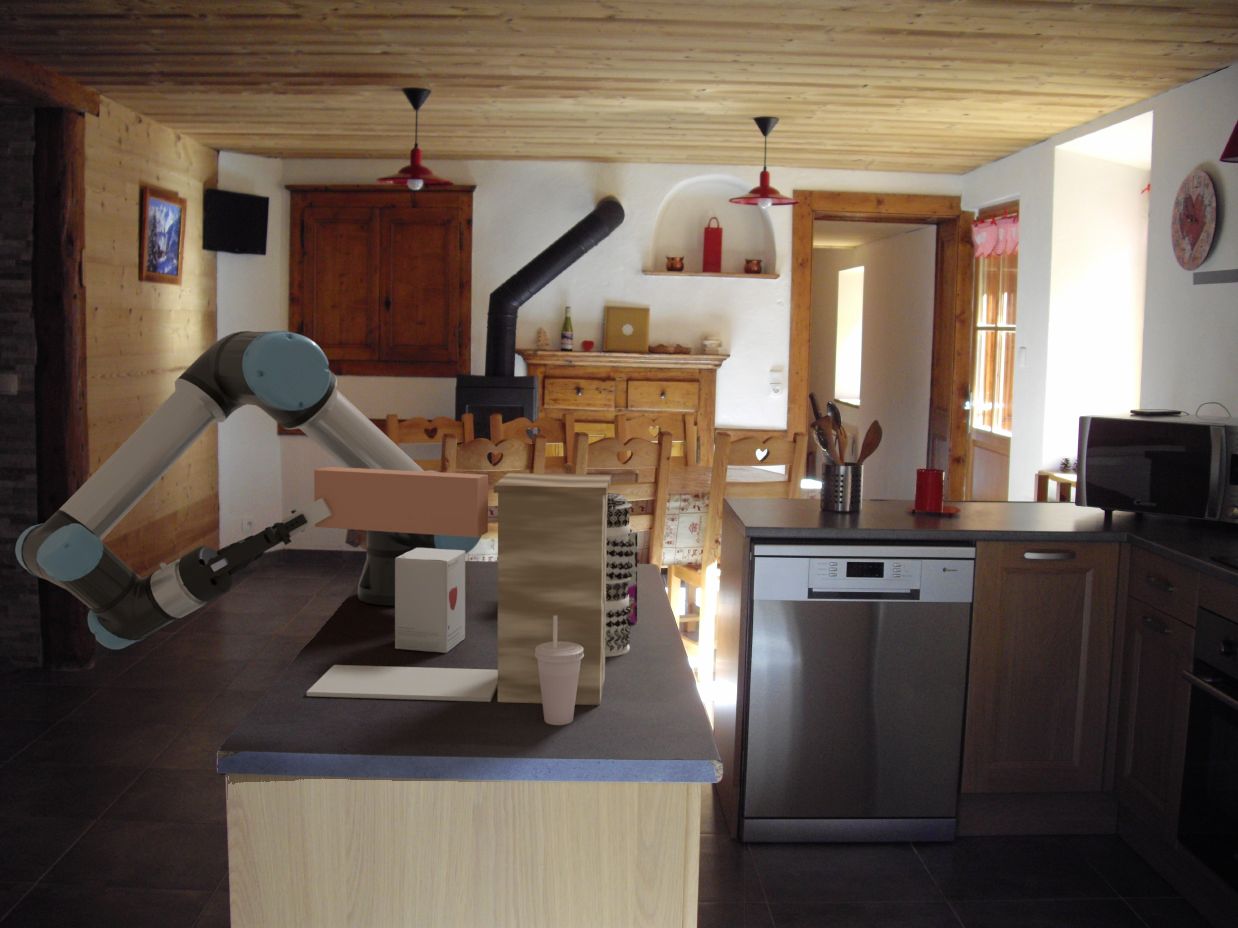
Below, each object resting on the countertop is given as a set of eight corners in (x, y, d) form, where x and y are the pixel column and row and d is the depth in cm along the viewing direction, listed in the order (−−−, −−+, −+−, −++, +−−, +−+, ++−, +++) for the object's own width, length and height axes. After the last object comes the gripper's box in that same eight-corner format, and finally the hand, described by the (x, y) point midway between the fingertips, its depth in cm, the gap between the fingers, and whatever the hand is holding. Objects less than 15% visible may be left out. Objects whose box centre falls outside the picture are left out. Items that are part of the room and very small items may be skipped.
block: (329, 522, 150) (328, 466, 149) (487, 532, 144) (488, 474, 143) (314, 526, 146) (314, 469, 145) (477, 537, 140) (477, 478, 140)
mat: (333, 668, 156) (333, 664, 156) (503, 673, 155) (503, 669, 155) (306, 695, 144) (306, 691, 144) (490, 701, 143) (490, 697, 143)
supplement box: (447, 654, 164) (447, 560, 162) (393, 649, 166) (392, 557, 164) (467, 638, 173) (466, 549, 171) (416, 634, 175) (415, 546, 173)
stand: (507, 672, 156) (508, 472, 152) (608, 675, 155) (611, 474, 151) (493, 702, 143) (493, 485, 139) (603, 706, 142) (606, 487, 138)
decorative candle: (570, 641, 172) (572, 491, 169) (625, 639, 174) (628, 490, 171) (580, 658, 163) (582, 500, 160) (638, 655, 165) (641, 499, 162)
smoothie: (534, 711, 140) (534, 609, 138) (582, 710, 140) (583, 608, 139) (534, 729, 133) (534, 622, 132) (584, 728, 134) (585, 622, 132)
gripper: (150, 570, 140) (297, 488, 138) (207, 545, 158) (338, 472, 155) (179, 618, 141) (326, 537, 139) (232, 588, 158) (364, 516, 156)
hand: (332, 503), depth 147 cm, fingers closed on block, 4 cm apart
